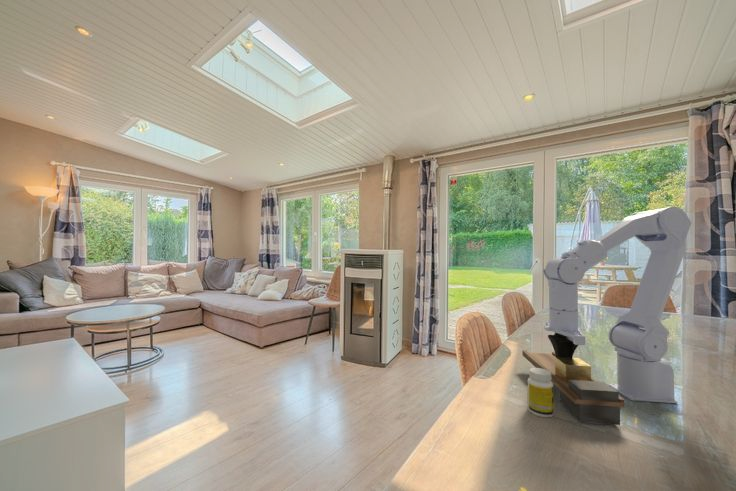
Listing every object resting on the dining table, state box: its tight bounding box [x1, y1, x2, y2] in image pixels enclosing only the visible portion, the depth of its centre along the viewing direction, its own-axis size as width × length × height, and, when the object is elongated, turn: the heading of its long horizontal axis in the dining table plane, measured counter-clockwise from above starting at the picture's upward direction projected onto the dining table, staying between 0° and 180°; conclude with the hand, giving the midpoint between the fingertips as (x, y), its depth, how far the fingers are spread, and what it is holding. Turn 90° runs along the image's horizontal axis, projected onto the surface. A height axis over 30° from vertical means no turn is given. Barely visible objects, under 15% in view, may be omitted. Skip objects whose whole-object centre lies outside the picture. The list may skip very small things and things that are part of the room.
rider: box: [555, 357, 592, 384], centre depth 68 cm, size 5×5×4 cm
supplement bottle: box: [527, 367, 555, 418], centre depth 63 cm, size 5×5×8 cm
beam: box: [522, 349, 626, 426], centre depth 72 cm, size 9×28×6 cm, turn 172°
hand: (563, 367), depth 71 cm, fingers closed
